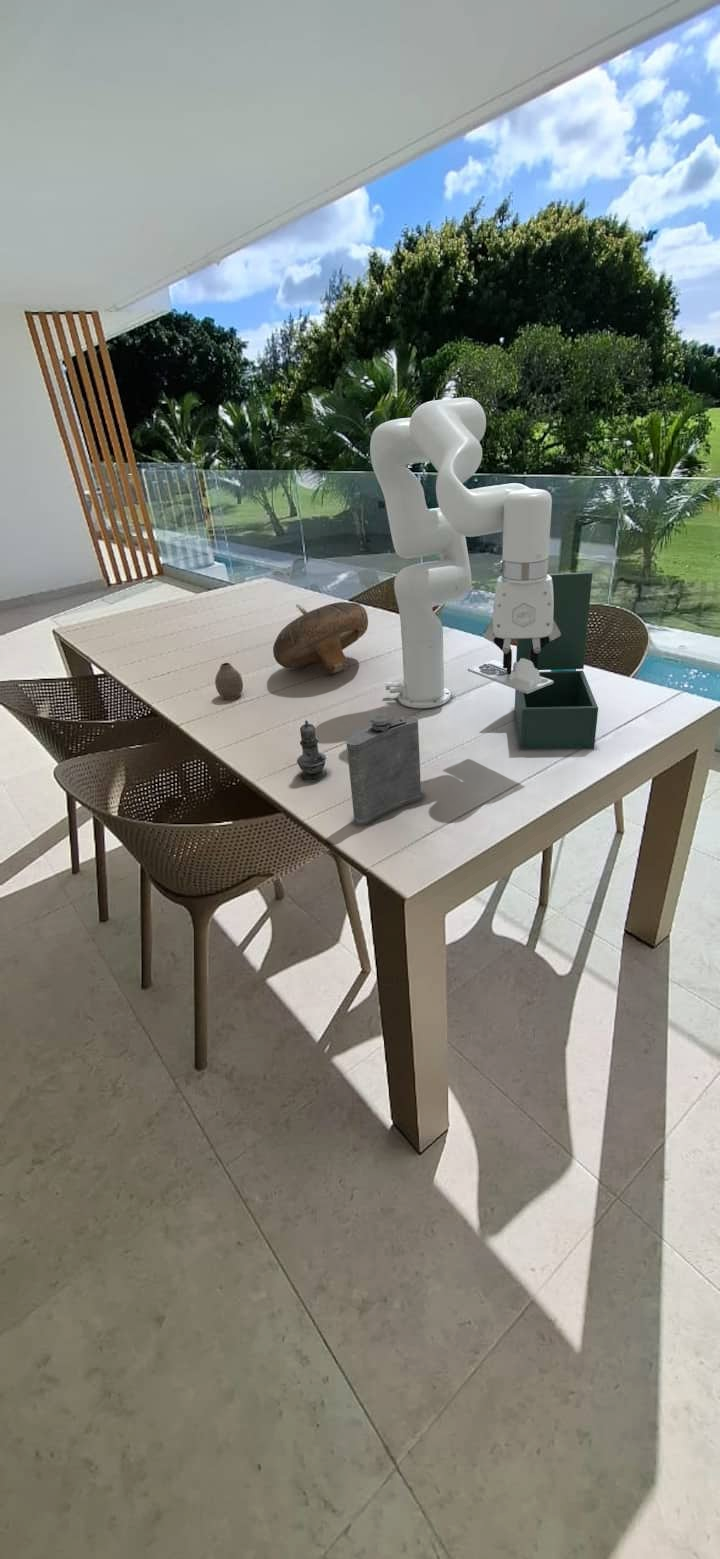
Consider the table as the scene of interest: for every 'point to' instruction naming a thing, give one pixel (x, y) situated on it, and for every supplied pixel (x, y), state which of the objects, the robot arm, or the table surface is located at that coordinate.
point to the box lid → (565, 624)
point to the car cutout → (513, 675)
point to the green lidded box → (557, 713)
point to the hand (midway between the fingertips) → (519, 670)
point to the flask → (384, 767)
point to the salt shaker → (311, 755)
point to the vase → (228, 682)
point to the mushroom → (321, 636)
